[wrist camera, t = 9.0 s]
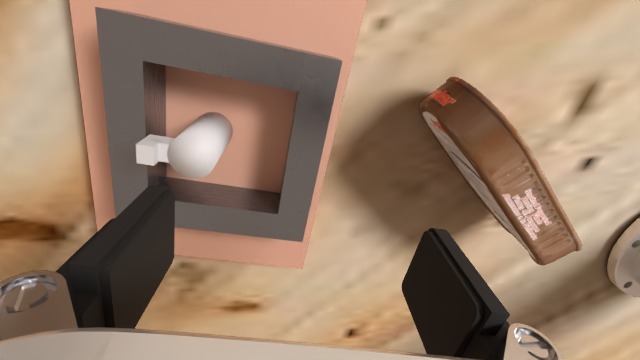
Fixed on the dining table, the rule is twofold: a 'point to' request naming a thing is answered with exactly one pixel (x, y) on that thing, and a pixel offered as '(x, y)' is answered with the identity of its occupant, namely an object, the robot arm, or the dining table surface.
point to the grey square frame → (222, 60)
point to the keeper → (220, 110)
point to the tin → (499, 169)
